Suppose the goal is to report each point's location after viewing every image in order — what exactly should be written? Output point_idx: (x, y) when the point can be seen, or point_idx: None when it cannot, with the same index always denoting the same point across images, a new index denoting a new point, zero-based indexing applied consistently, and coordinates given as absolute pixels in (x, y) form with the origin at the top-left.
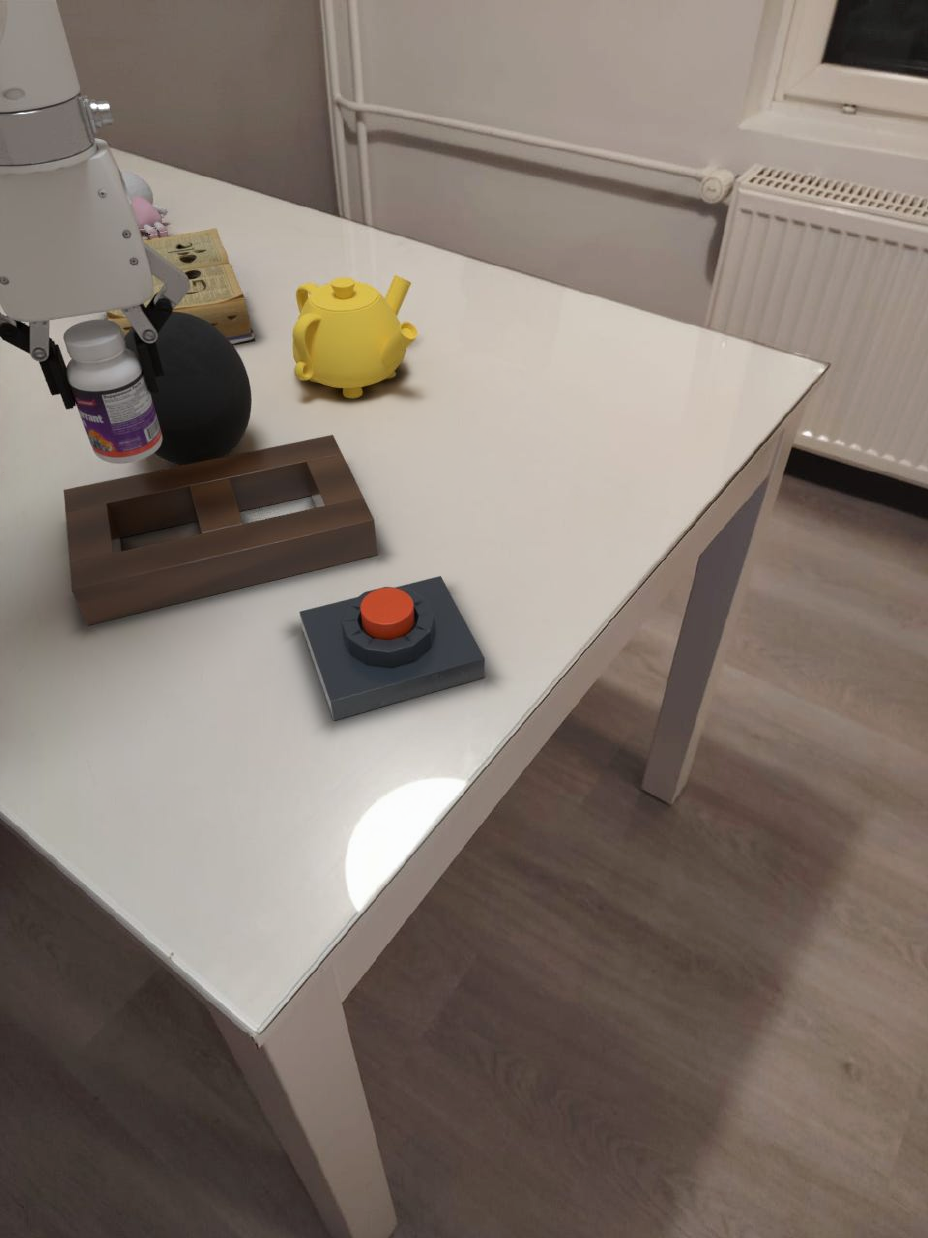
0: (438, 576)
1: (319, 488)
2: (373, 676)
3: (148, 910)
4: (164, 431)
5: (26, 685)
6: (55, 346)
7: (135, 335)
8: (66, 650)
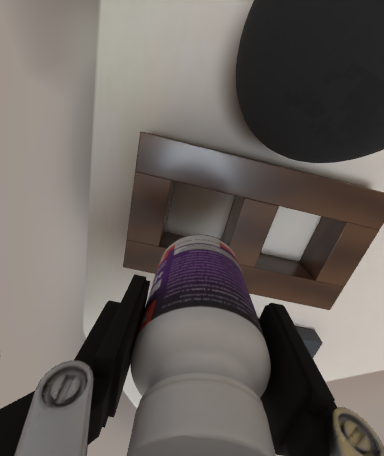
0: (321, 342)
1: (327, 261)
2: None
3: (125, 384)
4: (262, 142)
5: (93, 274)
6: (114, 373)
7: (298, 411)
8: (118, 262)
